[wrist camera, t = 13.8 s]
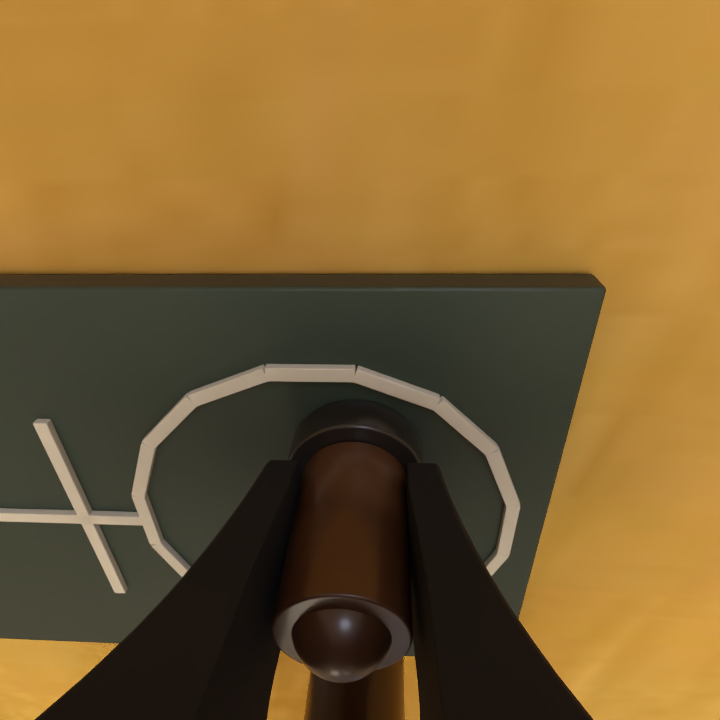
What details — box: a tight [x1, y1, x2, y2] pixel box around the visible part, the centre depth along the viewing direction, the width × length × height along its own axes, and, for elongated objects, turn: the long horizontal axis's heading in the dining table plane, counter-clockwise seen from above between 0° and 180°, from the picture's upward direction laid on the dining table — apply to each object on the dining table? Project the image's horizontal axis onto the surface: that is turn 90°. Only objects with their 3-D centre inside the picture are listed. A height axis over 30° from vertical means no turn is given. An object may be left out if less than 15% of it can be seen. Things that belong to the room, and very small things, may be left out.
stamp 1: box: [271, 400, 423, 683], centre depth 10 cm, size 3×3×5 cm
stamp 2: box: [304, 658, 405, 720], centre depth 13 cm, size 3×3×5 cm
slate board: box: [0, 274, 606, 656], centre depth 14 cm, size 20×14×1 cm
